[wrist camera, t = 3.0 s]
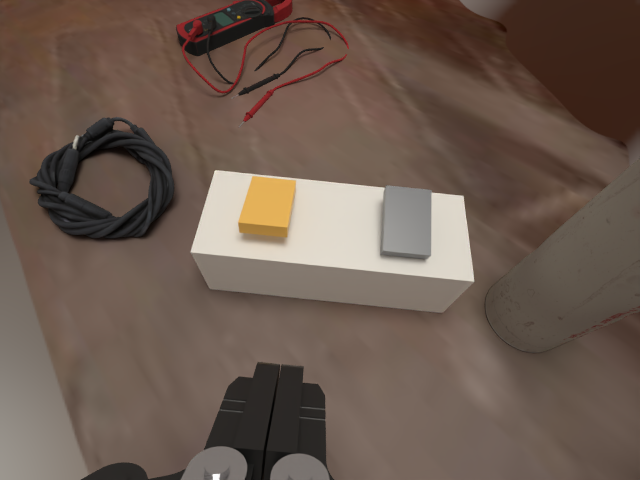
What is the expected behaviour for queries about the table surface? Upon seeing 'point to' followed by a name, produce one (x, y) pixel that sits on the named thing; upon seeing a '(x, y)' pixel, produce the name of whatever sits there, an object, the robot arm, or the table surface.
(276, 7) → the digital clamp meter
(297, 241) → the switch box
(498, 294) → the thermos bottle
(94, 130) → the cable
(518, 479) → the table surface
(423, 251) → the flat grey slab box
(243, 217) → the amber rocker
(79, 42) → the table surface
